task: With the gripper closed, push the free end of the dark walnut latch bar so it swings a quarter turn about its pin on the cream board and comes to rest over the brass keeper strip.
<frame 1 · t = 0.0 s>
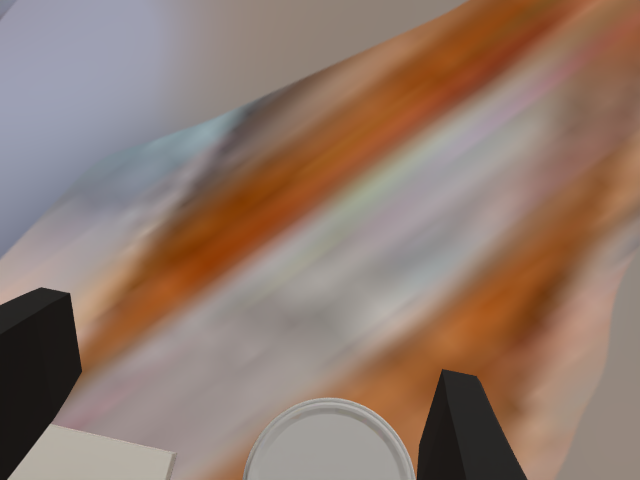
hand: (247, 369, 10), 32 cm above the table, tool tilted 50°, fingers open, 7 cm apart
coffee cup: (331, 473, 40), on the table
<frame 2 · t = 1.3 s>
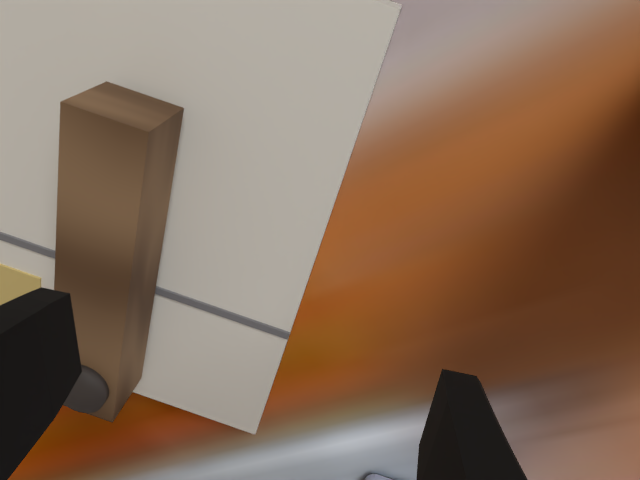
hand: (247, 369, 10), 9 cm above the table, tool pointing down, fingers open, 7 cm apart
latch board: (88, 177, 20), on the table
latch bar: (106, 273, 18), point 3 cm above the table, hinge at 0.0°
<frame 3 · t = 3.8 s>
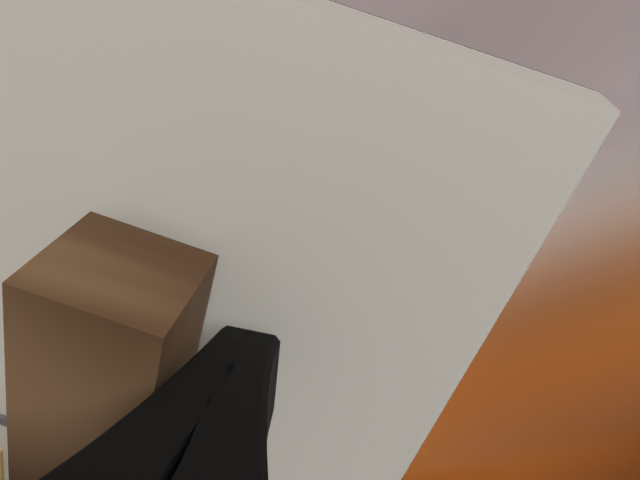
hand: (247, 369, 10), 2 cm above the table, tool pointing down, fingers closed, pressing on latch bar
latch board: (67, 317, 14), on the table
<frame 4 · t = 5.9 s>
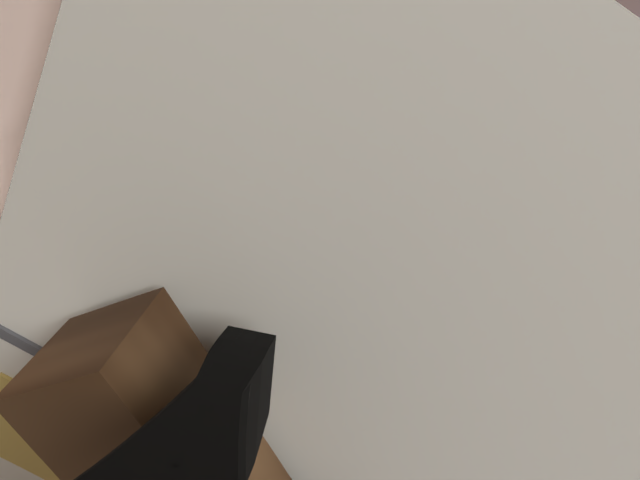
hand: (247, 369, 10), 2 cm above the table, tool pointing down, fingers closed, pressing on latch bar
latch board: (377, 391, 13), on the table
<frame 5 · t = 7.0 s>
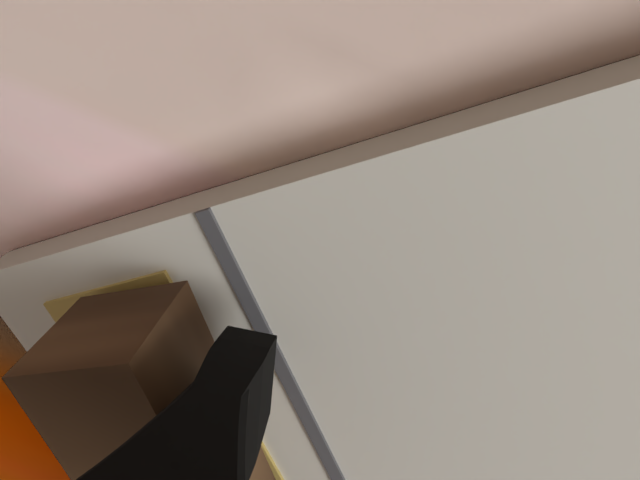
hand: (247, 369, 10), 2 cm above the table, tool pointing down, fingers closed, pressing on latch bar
latch board: (474, 466, 14), on the table
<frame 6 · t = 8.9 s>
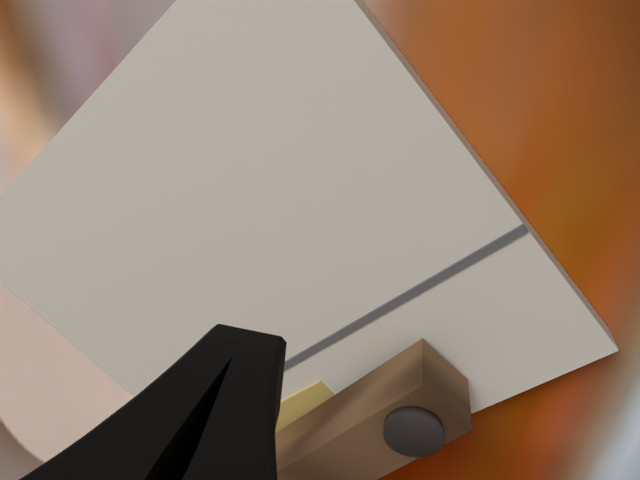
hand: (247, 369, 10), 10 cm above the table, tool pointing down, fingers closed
latch board: (272, 277, 21), on the table
latch bar: (327, 455, 21), point 3 cm above the table, hinge at 95.6°
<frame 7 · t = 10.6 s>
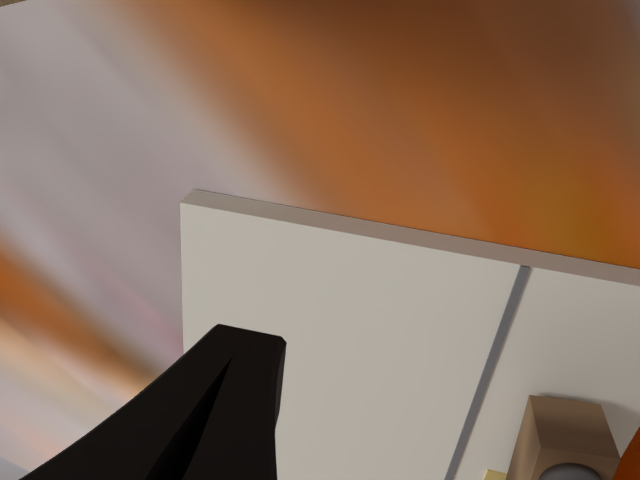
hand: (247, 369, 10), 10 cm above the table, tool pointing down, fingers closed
latch board: (390, 409, 24), on the table
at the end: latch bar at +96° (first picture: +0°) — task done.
